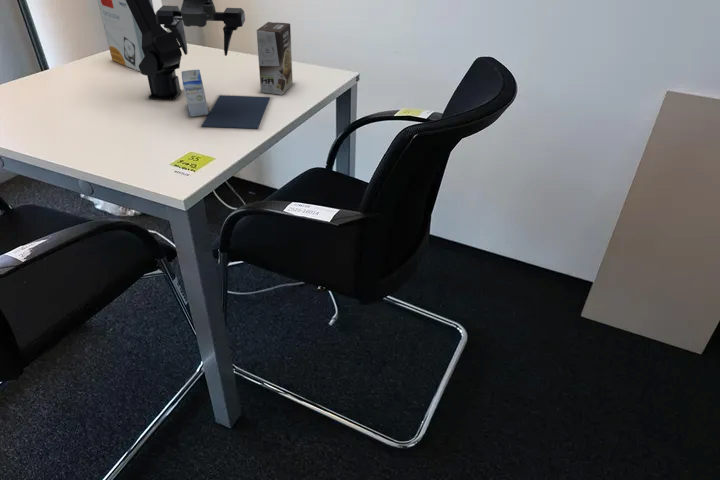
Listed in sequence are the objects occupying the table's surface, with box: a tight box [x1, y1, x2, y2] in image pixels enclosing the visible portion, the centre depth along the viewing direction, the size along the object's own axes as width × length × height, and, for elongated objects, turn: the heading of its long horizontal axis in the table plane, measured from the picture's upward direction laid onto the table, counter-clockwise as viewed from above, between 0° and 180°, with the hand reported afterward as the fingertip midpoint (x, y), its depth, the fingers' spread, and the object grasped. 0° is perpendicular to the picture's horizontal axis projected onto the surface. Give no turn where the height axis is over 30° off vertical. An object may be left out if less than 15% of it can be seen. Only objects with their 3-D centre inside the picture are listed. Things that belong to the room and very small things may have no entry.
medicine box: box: [181, 69, 209, 118], centre depth 129 cm, size 8×4×9 cm, turn 17°
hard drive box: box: [97, 0, 155, 73], centre depth 152 cm, size 16×8×20 cm, turn 53°
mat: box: [200, 95, 271, 130], centre depth 132 cm, size 13×19×1 cm
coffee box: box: [256, 21, 293, 96], centre depth 141 cm, size 9×6×16 cm
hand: (206, 54), depth 126 cm, fingers open, 9 cm apart
